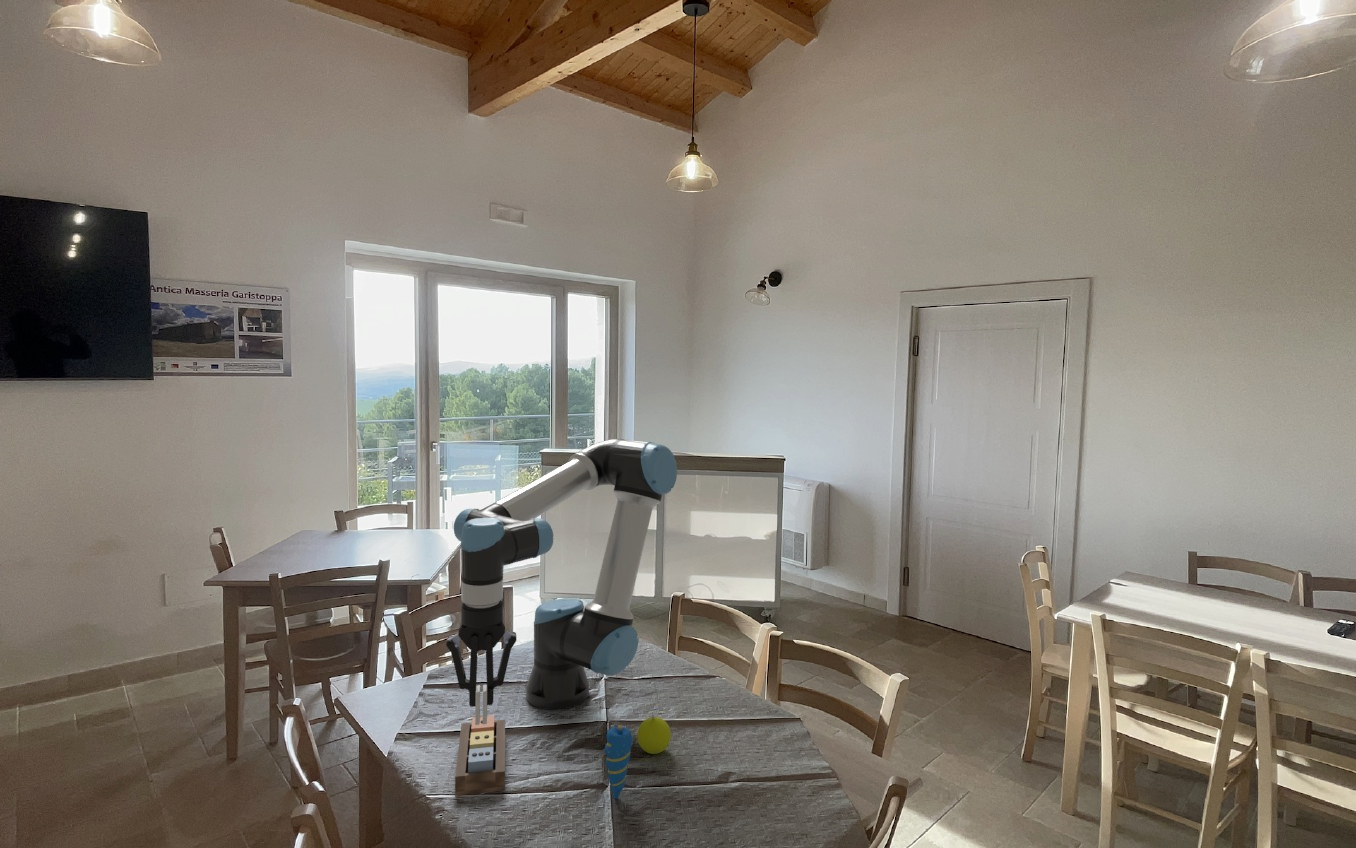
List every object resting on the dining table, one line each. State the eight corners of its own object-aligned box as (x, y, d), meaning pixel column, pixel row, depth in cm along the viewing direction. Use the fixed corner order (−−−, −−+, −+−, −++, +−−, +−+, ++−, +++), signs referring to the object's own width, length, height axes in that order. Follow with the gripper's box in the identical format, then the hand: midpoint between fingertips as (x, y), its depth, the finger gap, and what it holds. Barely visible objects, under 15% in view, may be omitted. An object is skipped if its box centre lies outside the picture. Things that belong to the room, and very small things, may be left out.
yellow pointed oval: (644, 764, 140) (645, 717, 139) (631, 746, 147) (633, 701, 146) (675, 756, 143) (677, 710, 142) (662, 739, 150) (663, 695, 149)
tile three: (493, 761, 135) (493, 746, 135) (492, 774, 131) (492, 759, 130) (469, 763, 134) (469, 748, 134) (468, 777, 130) (468, 761, 129)
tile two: (493, 744, 141) (493, 729, 141) (493, 756, 136) (493, 741, 136) (470, 746, 140) (470, 732, 139) (469, 759, 135) (469, 744, 135)
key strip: (504, 736, 149) (505, 719, 148) (504, 790, 130) (505, 771, 130) (461, 740, 146) (461, 723, 146) (455, 796, 128) (455, 776, 128)
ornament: (603, 790, 131) (605, 715, 130) (630, 789, 132) (632, 715, 130) (603, 807, 126) (605, 730, 125) (631, 807, 127) (633, 729, 125)
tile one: (494, 729, 147) (494, 714, 146) (493, 740, 142) (493, 725, 142) (472, 731, 146) (472, 716, 145) (471, 742, 141) (471, 728, 141)
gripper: (519, 592, 134) (517, 707, 137) (445, 596, 131) (445, 714, 133) (519, 606, 127) (518, 727, 129) (442, 610, 124) (441, 735, 126)
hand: (481, 720), depth 131 cm, fingers closed
